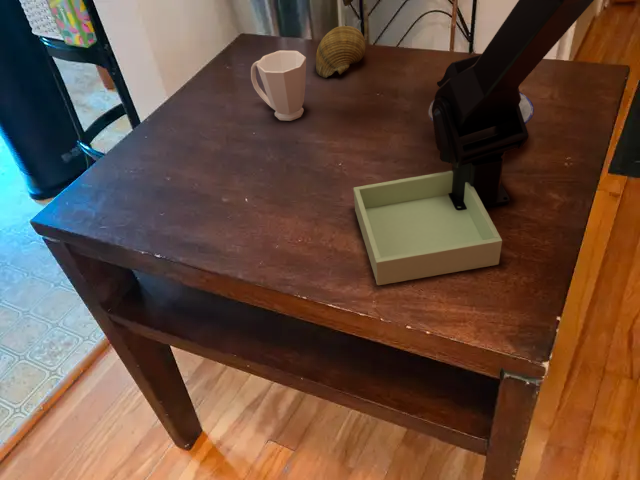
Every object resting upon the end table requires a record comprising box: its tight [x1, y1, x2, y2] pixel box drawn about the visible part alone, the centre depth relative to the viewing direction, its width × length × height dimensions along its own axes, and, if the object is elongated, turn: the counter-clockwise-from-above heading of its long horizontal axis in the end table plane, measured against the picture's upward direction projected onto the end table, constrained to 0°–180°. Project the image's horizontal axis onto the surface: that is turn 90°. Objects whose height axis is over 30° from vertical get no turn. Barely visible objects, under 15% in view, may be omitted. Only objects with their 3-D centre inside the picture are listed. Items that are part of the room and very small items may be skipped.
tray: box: [353, 170, 503, 286], centre depth 67 cm, size 13×13×3 cm
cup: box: [250, 49, 307, 122], centre depth 87 cm, size 7×10×8 cm
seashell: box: [315, 25, 367, 79], centre depth 97 cm, size 10×7×8 cm
